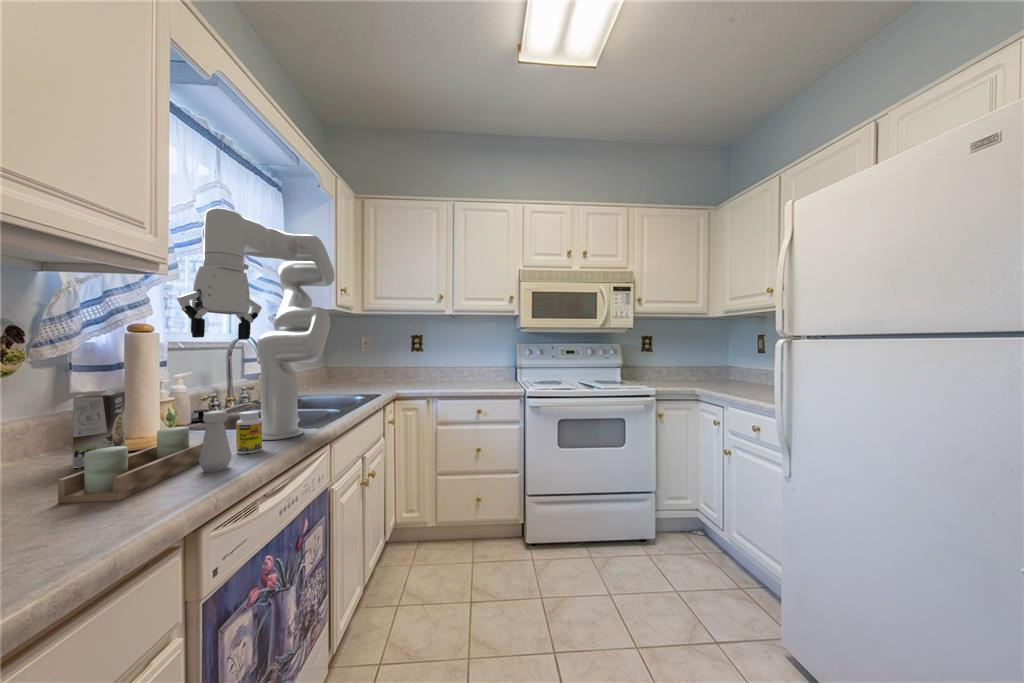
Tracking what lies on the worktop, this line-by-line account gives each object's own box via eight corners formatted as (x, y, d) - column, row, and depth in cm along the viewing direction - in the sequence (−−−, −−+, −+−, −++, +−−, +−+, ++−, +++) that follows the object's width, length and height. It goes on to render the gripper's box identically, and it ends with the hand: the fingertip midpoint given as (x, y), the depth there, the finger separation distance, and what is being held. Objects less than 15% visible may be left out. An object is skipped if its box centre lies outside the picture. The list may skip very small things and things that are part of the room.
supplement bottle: (235, 455, 96) (235, 415, 96) (237, 450, 101) (237, 411, 101) (261, 452, 99) (262, 412, 99) (262, 447, 104) (262, 409, 104)
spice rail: (161, 461, 92) (161, 426, 92) (206, 459, 93) (206, 425, 93) (58, 503, 68) (58, 457, 68) (119, 500, 69) (119, 455, 69)
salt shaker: (238, 465, 89) (238, 409, 89) (216, 474, 83) (216, 414, 83) (214, 464, 89) (214, 408, 89) (191, 473, 83) (192, 413, 83)
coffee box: (111, 465, 88) (111, 395, 88) (71, 469, 85) (71, 397, 85) (126, 455, 96) (126, 390, 96) (90, 458, 93) (90, 392, 93)
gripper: (251, 273, 98) (249, 340, 98) (169, 257, 82) (166, 336, 82) (271, 270, 95) (269, 339, 95) (191, 253, 79) (188, 336, 79)
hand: (222, 338), depth 88 cm, fingers open, 9 cm apart
